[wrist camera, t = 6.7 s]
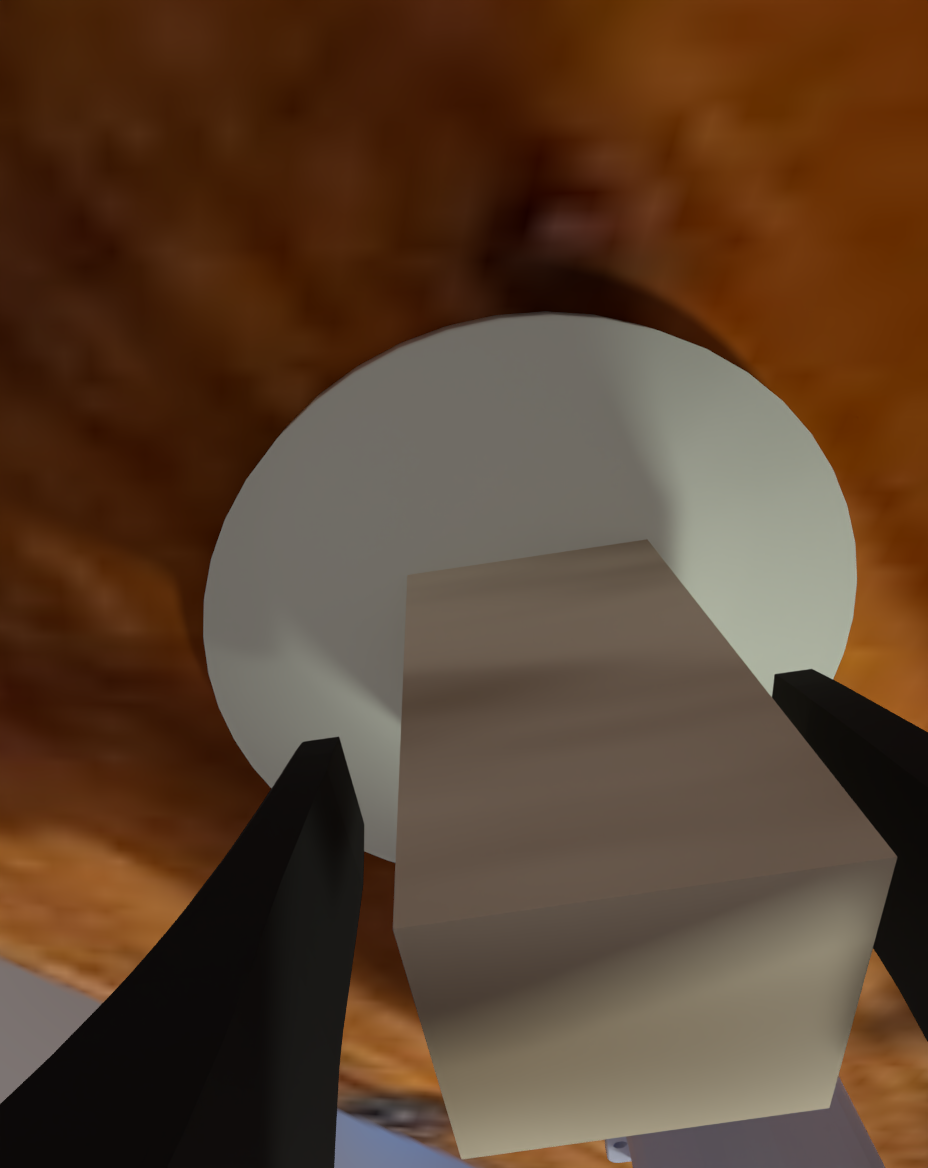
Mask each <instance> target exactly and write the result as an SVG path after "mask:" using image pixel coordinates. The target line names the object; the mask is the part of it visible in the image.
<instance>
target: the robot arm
mask: <svg viewBox="0 0 928 1168" xmlns="http://www.w3.org/2000/svg"><path fill="white" fill-rule="evenodd" d="M772 698H773V700H774V701H775V702H776V703H777V705H778V706H779V707H780V708H781V710H782V711H783V712H784V713H785V715H786V716H787V717H788V719H789V720H790V721H791V722H792V724H793V725H794V726H795V727H796V729H797V730H798V731H799V733H800V734H801V735H802V736H803V738H804V739H805V740H806V741H807V743H808V744H809V745H810V746H811V748H812V749H813V750H814V752H815V753H816V754H817V755H818V757H819V758H820V759H821V760H822V762H823V763H824V764H825V766H826V767H827V768H828V769H829V771H830V772H831V773H832V774H833V776H834V777H835V778H836V779H837V781H838V782H839V783H840V785H841V786H842V787H843V788H844V790H845V791H846V792H847V793H848V795H849V796H850V797H851V799H852V800H853V801H854V802H855V804H856V805H857V806H858V807H859V809H860V810H861V811H862V812H863V814H864V815H865V816H866V818H867V819H868V820H869V821H870V823H871V824H872V825H873V826H874V828H875V829H876V830H877V832H878V833H879V834H880V835H881V837H882V838H883V839H884V840H885V842H886V843H887V844H888V845H889V847H890V848H891V849H892V851H893V852H894V853H895V854H896V856H897V860H896V864H895V868H894V871H893V875H892V879H891V882H890V886H889V890H888V894H887V897H886V901H885V905H884V908H883V912H882V916H881V919H880V923H879V927H878V930H877V934H876V938H875V942H874V945H873V949H874V950H875V952H876V953H877V955H878V956H879V958H880V959H881V961H882V962H883V964H884V966H885V967H886V969H887V971H888V972H889V974H890V975H891V977H892V979H893V980H894V982H895V984H896V985H897V987H898V989H899V990H900V992H901V994H902V996H903V997H904V999H905V1001H906V1003H907V1005H908V1007H909V1008H910V1010H911V1012H912V1014H913V1016H914V1018H915V1019H916V1021H917V1023H918V1025H919V1027H920V1029H921V1030H922V1032H923V1034H924V1036H925V1038H926V1040H927V1041H928V732H926V731H924V730H923V729H921V728H919V727H917V726H915V725H914V724H912V723H910V722H908V721H906V720H905V719H903V718H901V717H899V716H897V715H896V714H894V713H892V712H890V711H888V710H887V709H885V708H883V707H881V706H880V705H878V704H876V703H874V702H872V701H871V700H869V699H867V698H865V697H864V696H862V695H860V694H858V693H856V692H855V691H853V690H851V689H849V688H847V687H846V686H844V685H842V684H840V683H838V682H836V681H835V680H833V679H831V678H829V677H827V676H825V675H823V674H821V673H819V672H817V671H815V670H813V669H807V670H800V671H793V672H786V673H779V674H775V675H774V684H773V692H772ZM363 872H364V821H363V817H362V814H361V811H360V807H359V804H358V800H357V797H356V793H355V790H354V786H353V783H352V779H351V776H350V773H349V769H348V766H347V762H346V759H345V755H344V752H343V748H342V745H341V741H340V738H339V737H332V738H325V739H318V740H311V741H304V742H302V743H301V744H300V746H299V747H298V748H297V750H296V751H295V753H294V754H293V756H292V757H291V759H290V760H289V762H288V764H287V765H286V767H285V768H284V770H283V771H282V773H281V775H280V776H279V778H278V779H277V781H276V782H275V784H274V786H273V787H272V789H271V790H270V792H269V793H268V795H267V796H266V798H265V799H264V801H263V802H262V804H261V805H260V807H259V808H258V810H257V811H256V813H255V814H254V816H253V817H252V819H251V820H250V822H249V823H248V824H247V826H246V827H245V829H244V830H243V832H242V833H241V835H240V836H239V837H238V839H237V840H236V842H235V843H234V845H233V846H232V848H231V849H230V850H229V852H228V853H227V855H226V856H225V857H224V859H223V860H222V862H221V863H220V864H219V865H218V867H217V868H216V869H215V871H214V872H213V873H212V875H211V876H210V877H209V879H208V880H207V881H206V883H205V884H204V885H203V887H202V888H201V889H200V890H199V892H198V893H197V894H196V896H195V897H194V898H193V900H192V901H191V902H190V904H189V905H188V906H187V907H186V909H185V910H184V911H183V912H182V914H181V915H180V916H179V917H178V919H177V920H176V921H175V922H174V924H173V925H172V926H171V927H170V928H169V930H168V931H167V932H166V933H165V934H164V936H163V937H162V938H161V939H160V940H159V942H158V943H157V944H156V945H155V946H154V947H153V949H152V950H151V951H150V952H149V953H148V954H147V955H146V957H145V958H144V959H143V960H142V961H141V962H140V963H139V965H138V966H137V967H136V968H135V969H134V970H133V971H132V973H131V974H130V975H129V976H128V977H127V978H126V979H125V980H124V981H123V982H122V983H121V984H120V986H119V987H118V988H117V989H116V990H115V991H114V992H113V993H112V994H111V995H110V996H109V997H108V998H107V999H106V1000H105V1001H104V1002H103V1003H102V1004H101V1005H100V1007H99V1008H98V1009H97V1010H96V1011H95V1012H94V1013H93V1014H92V1015H91V1016H90V1017H89V1018H88V1019H87V1020H86V1021H85V1022H84V1023H83V1024H82V1025H81V1026H80V1027H79V1028H78V1029H77V1030H76V1031H75V1032H74V1033H73V1034H72V1035H71V1036H70V1037H69V1038H68V1040H66V1041H65V1043H63V1044H62V1045H61V1046H60V1047H59V1049H58V1050H57V1051H56V1052H55V1053H54V1054H53V1055H52V1056H51V1057H50V1058H49V1059H47V1060H46V1061H45V1062H44V1063H43V1064H42V1065H41V1066H40V1067H39V1068H38V1069H37V1070H36V1071H35V1072H34V1073H33V1074H32V1075H31V1076H30V1077H29V1078H28V1079H26V1080H25V1081H24V1082H23V1083H22V1084H21V1085H20V1086H19V1087H18V1088H17V1089H16V1090H15V1091H14V1092H13V1093H12V1094H11V1095H9V1096H8V1097H7V1098H6V1099H5V1100H4V1101H3V1102H2V1103H1V1104H0V1168H334V1159H335V1157H334V1156H335V1137H336V1118H337V1099H338V1080H339V1065H340V1055H341V1045H342V1036H343V1028H344V1021H345V1014H346V1006H347V999H348V992H349V985H350V978H351V971H352V963H353V956H354V949H355V942H356V935H357V927H358V920H359V913H360V905H361V897H362V890H363ZM605 1148H606V1153H607V1158H608V1160H610V1161H611V1162H615V1163H621V1162H629V1161H632V1165H633V1168H885V1166H884V1164H883V1162H882V1160H881V1158H880V1156H879V1154H878V1152H877V1150H876V1149H875V1147H874V1145H873V1143H872V1141H871V1139H870V1137H869V1135H868V1133H867V1131H866V1129H865V1127H864V1125H863V1123H862V1121H861V1119H860V1117H859V1115H858V1113H857V1111H856V1109H855V1107H854V1105H853V1103H852V1101H851V1099H850V1097H849V1095H848V1093H847V1091H846V1089H845V1087H844V1086H843V1084H842V1082H841V1080H840V1078H839V1076H838V1078H837V1082H836V1086H835V1089H834V1093H833V1097H832V1100H831V1104H830V1108H826V1109H819V1110H812V1111H805V1112H797V1113H790V1114H783V1115H776V1116H769V1117H762V1118H754V1119H747V1120H740V1121H733V1122H726V1123H719V1124H712V1125H704V1126H697V1127H690V1128H683V1129H676V1130H669V1131H661V1132H654V1133H647V1134H640V1135H633V1136H626V1137H619V1138H611V1139H605Z"/></svg>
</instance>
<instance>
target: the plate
mask: <svg viewBox="0 0 928 1168" xmlns="http://www.w3.org/2000/svg"><path fill="white" fill-rule="evenodd" d="M646 539H647V540H648V541H649V542H650V543H651V545H652V546H653V547H654V548H655V550H656V551H657V552H658V554H659V555H660V556H661V557H662V559H663V560H664V561H665V562H666V564H667V565H668V566H669V567H670V569H671V570H672V571H673V573H674V574H675V575H676V576H677V578H678V579H679V580H680V581H681V583H682V584H683V585H684V587H685V588H686V589H687V590H688V592H689V593H690V594H691V595H692V597H693V598H694V599H695V600H696V602H697V603H698V604H699V606H700V607H701V608H702V609H703V611H704V612H705V613H706V614H707V616H708V617H709V618H710V620H711V621H712V622H713V623H714V625H715V626H716V627H717V628H718V630H719V631H720V632H721V633H722V635H723V636H724V637H725V639H726V640H727V641H728V642H729V644H730V645H731V646H732V647H733V649H734V650H735V651H736V653H737V654H738V655H739V656H740V658H741V659H742V660H743V661H744V663H745V664H746V665H747V666H748V668H749V669H750V670H751V672H752V673H753V674H754V675H755V677H756V678H757V679H758V680H759V682H760V683H761V684H762V686H763V687H764V688H765V689H766V691H767V692H768V693H769V694H770V696H771V697H772V692H773V684H774V675H775V674H779V673H786V672H793V671H800V670H807V669H813V670H815V671H817V672H819V673H821V674H823V675H825V676H827V677H829V678H831V679H833V678H834V676H835V673H836V671H837V669H838V666H839V664H840V661H841V659H842V656H843V654H844V651H845V647H846V643H847V639H848V635H849V631H850V627H851V623H852V619H853V613H854V604H855V594H856V585H857V571H856V550H855V540H854V535H853V531H852V526H851V521H850V516H849V512H848V507H847V504H846V501H845V499H844V496H843V494H842V491H841V489H840V486H839V484H838V481H837V479H836V476H835V473H834V471H833V469H832V467H831V465H830V464H829V462H828V460H827V459H826V457H825V455H824V454H823V452H822V450H821V449H820V447H819V446H818V444H817V442H816V441H815V439H814V437H813V436H812V434H811V433H810V432H809V431H808V429H807V428H806V427H805V426H804V425H803V424H802V422H801V421H800V420H799V419H798V418H797V417H796V416H795V414H794V413H793V412H792V411H791V410H790V409H789V408H788V406H787V405H786V404H785V403H784V402H783V401H782V400H781V399H780V398H778V397H777V396H776V395H775V394H774V393H772V392H771V391H770V390H769V389H767V388H766V387H765V386H764V385H763V384H761V383H760V382H759V381H758V380H756V379H755V378H754V377H753V376H752V375H750V374H749V373H748V372H746V371H744V370H743V369H741V368H739V367H737V366H736V365H734V364H732V363H730V362H729V361H727V360H725V359H724V358H722V357H720V356H718V355H717V354H715V353H713V352H711V351H710V350H708V349H706V348H703V347H701V346H698V345H695V344H693V343H690V342H688V341H685V340H682V339H680V338H677V337H674V336H672V335H669V334H667V333H664V332H661V331H658V330H655V329H652V328H649V327H646V326H643V325H640V324H635V323H631V322H626V321H621V320H617V319H612V318H608V317H603V316H598V315H592V314H577V313H563V312H548V311H543V312H530V313H517V314H504V315H494V316H489V317H485V318H480V319H476V320H471V321H467V322H462V323H458V324H453V325H448V326H445V327H442V328H440V329H437V330H434V331H432V332H429V333H426V334H424V335H421V336H418V337H415V338H413V339H410V340H407V341H405V342H402V343H399V344H398V345H396V346H394V347H392V348H390V349H388V350H387V351H385V352H383V353H381V354H379V355H377V356H375V357H374V358H372V359H370V360H368V361H366V362H364V363H362V364H361V365H359V366H357V367H355V368H354V369H353V370H351V371H350V372H349V373H347V374H346V375H345V376H343V377H342V378H341V379H339V380H338V381H337V382H335V383H334V384H333V385H331V386H330V387H328V388H327V389H326V390H324V391H323V392H322V393H320V394H319V395H318V396H317V397H316V398H315V399H314V400H313V401H312V402H311V403H310V404H309V405H308V406H307V407H306V408H305V409H304V410H303V411H302V412H301V413H300V414H299V415H298V416H297V417H296V418H295V419H294V420H293V421H292V422H291V423H290V424H289V425H288V426H287V427H286V428H285V429H284V430H283V431H282V433H281V434H280V435H279V437H278V438H277V439H276V441H275V442H274V443H273V445H272V446H271V447H270V449H269V450H268V451H267V453H266V454H265V455H264V457H263V458H262V459H261V461H260V462H259V463H258V465H257V466H256V467H255V469H254V470H253V471H252V473H251V474H250V475H249V477H248V478H247V479H246V481H245V483H244V485H243V486H242V488H241V490H240V492H239V494H238V496H237V498H236V499H235V501H234V503H233V505H232V507H231V509H230V511H229V513H228V514H227V516H226V518H225V520H224V523H223V526H222V529H221V532H220V535H219V538H218V541H217V543H216V546H215V549H214V552H213V555H212V558H211V562H210V567H209V573H208V579H207V584H206V590H205V595H204V621H203V639H204V646H205V653H206V660H207V667H208V674H209V677H210V681H211V684H212V687H213V690H214V694H215V697H216V700H217V703H218V707H219V709H220V711H221V713H222V715H223V718H224V720H225V722H226V724H227V726H228V728H229V730H230V732H231V734H232V736H233V738H234V740H235V742H236V743H237V745H238V746H239V748H240V749H241V751H242V752H243V754H244V755H245V756H246V758H247V759H248V761H249V762H250V764H251V765H252V767H253V768H254V769H255V770H256V772H257V773H258V774H259V775H260V776H261V777H262V778H263V779H264V781H265V782H266V783H267V784H268V785H269V786H270V787H271V788H272V787H273V786H274V784H275V782H276V781H277V779H278V778H279V776H280V775H281V773H282V771H283V770H284V768H285V767H286V765H287V764H288V762H289V760H290V759H291V757H292V756H293V754H294V753H295V751H296V750H297V748H298V747H299V746H300V744H301V743H302V742H304V741H311V740H318V739H325V738H332V737H339V738H340V741H341V745H342V748H343V752H344V755H345V759H346V762H347V766H348V769H349V773H350V776H351V779H352V783H353V786H354V790H355V793H356V797H357V800H358V804H359V807H360V811H361V814H362V817H363V821H364V851H365V852H367V853H370V854H372V855H375V856H377V857H380V858H383V859H385V860H388V861H391V862H394V863H396V838H397V814H398V790H399V765H400V741H401V717H402V692H403V668H404V644H405V619H406V595H407V575H411V574H418V573H424V572H431V571H438V570H444V569H451V568H458V567H465V566H471V565H478V564H485V563H492V562H498V561H505V560H512V559H518V558H525V557H532V556H539V555H545V554H552V553H559V552H566V551H572V550H579V549H586V548H592V547H599V546H606V545H613V544H619V543H626V542H633V541H639V540H646Z"/></svg>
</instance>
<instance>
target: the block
mask: <svg viewBox="0 0 928 1168" xmlns="http://www.w3.org/2000/svg"><path fill="white" fill-rule="evenodd" d="M896 860H897V856H896V854H895V853H894V852H893V851H892V849H891V848H890V847H889V845H888V844H887V843H886V842H885V840H884V839H883V838H882V837H881V835H880V834H879V833H878V832H877V830H876V829H875V828H874V826H873V825H872V824H871V823H870V821H869V820H868V819H867V818H866V816H865V815H864V814H863V812H862V811H861V810H860V809H859V807H858V806H857V805H856V804H855V802H854V801H853V800H852V799H851V797H850V796H849V795H848V793H847V792H846V791H845V790H844V788H843V787H842V786H841V785H840V783H839V782H838V781H837V779H836V778H835V777H834V776H833V774H832V773H831V772H830V771H829V769H828V768H827V767H826V766H825V764H824V763H823V762H822V760H821V759H820V758H819V757H818V755H817V754H816V753H815V752H814V750H813V749H812V748H811V746H810V745H809V744H808V743H807V741H806V740H805V739H804V738H803V736H802V735H801V734H800V733H799V731H798V730H797V729H796V727H795V726H794V725H793V724H792V722H791V721H790V720H789V719H788V717H787V716H786V715H785V713H784V712H783V711H782V710H781V708H780V707H779V706H778V705H777V703H776V702H775V701H774V700H773V698H772V697H771V696H770V694H769V693H768V692H767V691H766V689H765V688H764V687H763V686H762V684H761V683H760V682H759V680H758V679H757V678H756V677H755V675H754V674H753V673H752V672H751V670H750V669H749V668H748V666H747V665H746V664H745V663H744V661H743V660H742V659H741V658H740V656H739V655H738V654H737V653H736V651H735V650H734V649H733V647H732V646H731V645H730V644H729V642H728V641H727V640H726V639H725V637H724V636H723V635H722V633H721V632H720V631H719V630H718V628H717V627H716V626H715V625H714V623H713V622H712V621H711V620H710V618H709V617H708V616H707V614H706V613H705V612H704V611H703V609H702V608H701V607H700V606H699V604H698V603H697V602H696V600H695V599H694V598H693V597H692V595H691V594H690V593H689V592H688V590H687V589H686V588H685V587H684V585H683V584H682V583H681V581H680V580H679V579H678V578H677V576H676V575H675V574H674V573H673V571H672V570H671V569H670V567H669V566H668V565H667V564H666V562H665V561H664V560H663V559H662V557H661V556H660V555H659V554H658V552H657V551H656V550H655V548H654V547H653V546H652V545H651V543H650V542H649V541H648V540H647V539H646V540H639V541H633V542H626V543H619V544H613V545H606V546H599V547H592V548H586V549H579V550H572V551H566V552H559V553H552V554H545V555H539V556H532V557H525V558H518V559H512V560H505V561H498V562H492V563H485V564H478V565H471V566H465V567H458V568H451V569H444V570H438V571H431V572H424V573H418V574H411V575H407V595H406V619H405V644H404V668H403V692H402V717H401V741H400V765H399V790H398V814H397V838H396V863H395V887H394V911H393V932H394V935H395V938H396V942H397V945H398V948H399V952H400V955H401V958H402V962H403V965H404V968H405V972H406V975H407V978H408V982H409V985H410V988H411V992H412V995H413V999H414V1002H415V1005H416V1009H417V1012H418V1015H419V1019H420V1022H421V1025H422V1029H423V1032H424V1035H425V1039H426V1042H427V1045H428V1049H429V1052H430V1055H431V1059H432V1062H433V1065H434V1069H435V1072H436V1076H437V1079H438V1082H439V1086H440V1089H441V1092H442V1096H443V1099H444V1102H445V1106H446V1109H447V1112H448V1116H449V1119H450V1122H451V1126H452V1129H453V1132H454V1136H455V1139H456V1142H457V1146H458V1149H459V1153H460V1156H461V1159H468V1158H476V1157H483V1156H490V1155H497V1154H504V1153H511V1152H518V1151H526V1150H533V1149H540V1148H547V1147H554V1146H561V1145H569V1144H576V1143H583V1142H590V1141H597V1140H604V1139H611V1138H619V1137H626V1136H633V1135H640V1134H647V1133H654V1132H661V1131H669V1130H676V1129H683V1128H690V1127H697V1126H704V1125H712V1124H719V1123H726V1122H733V1121H740V1120H747V1119H754V1118H762V1117H769V1116H776V1115H783V1114H790V1113H797V1112H805V1111H812V1110H819V1109H826V1108H830V1104H831V1100H832V1097H833V1093H834V1089H835V1086H836V1082H837V1078H838V1075H839V1071H840V1067H841V1063H842V1060H843V1056H844V1052H845V1049H846V1045H847V1041H848V1038H849V1034H850V1030H851V1026H852V1023H853V1019H854V1015H855V1012H856V1008H857V1004H858V1001H859V997H860V993H861V990H862V986H863V982H864V978H865V975H866V971H867V967H868V964H869V960H870V956H871V953H872V949H873V945H874V942H875V938H876V934H877V930H878V927H879V923H880V919H881V916H882V912H883V908H884V905H885V901H886V897H887V894H888V890H889V886H890V882H891V879H892V875H893V871H894V868H895V864H896Z"/></svg>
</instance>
